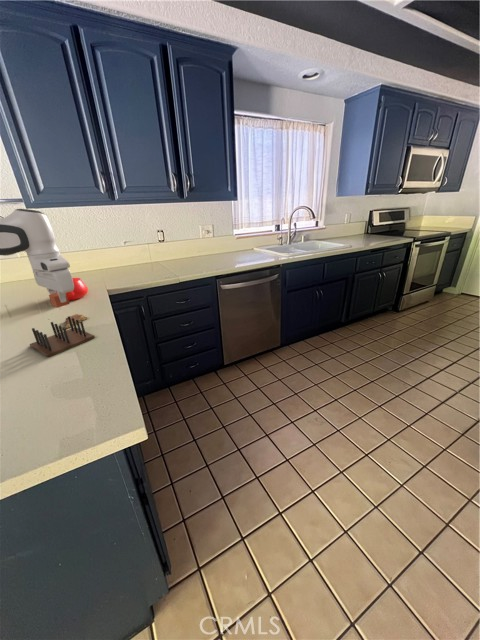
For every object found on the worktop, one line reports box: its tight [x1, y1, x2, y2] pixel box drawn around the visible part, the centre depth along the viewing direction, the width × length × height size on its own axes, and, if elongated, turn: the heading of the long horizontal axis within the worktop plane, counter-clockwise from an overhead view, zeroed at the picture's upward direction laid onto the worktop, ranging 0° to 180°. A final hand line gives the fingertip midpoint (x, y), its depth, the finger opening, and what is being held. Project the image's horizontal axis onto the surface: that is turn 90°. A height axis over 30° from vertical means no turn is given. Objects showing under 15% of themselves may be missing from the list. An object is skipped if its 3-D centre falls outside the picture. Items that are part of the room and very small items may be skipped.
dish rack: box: [29, 315, 95, 358], centre depth 96 cm, size 16×14×7 cm
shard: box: [64, 313, 88, 329], centre depth 113 cm, size 11×8×2 cm
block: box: [48, 293, 70, 308], centre depth 93 cm, size 4×4×4 cm
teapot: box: [56, 277, 89, 301], centre depth 142 cm, size 25×16×12 cm, turn 26°
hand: (59, 300), depth 93 cm, fingers closed on block, 4 cm apart
